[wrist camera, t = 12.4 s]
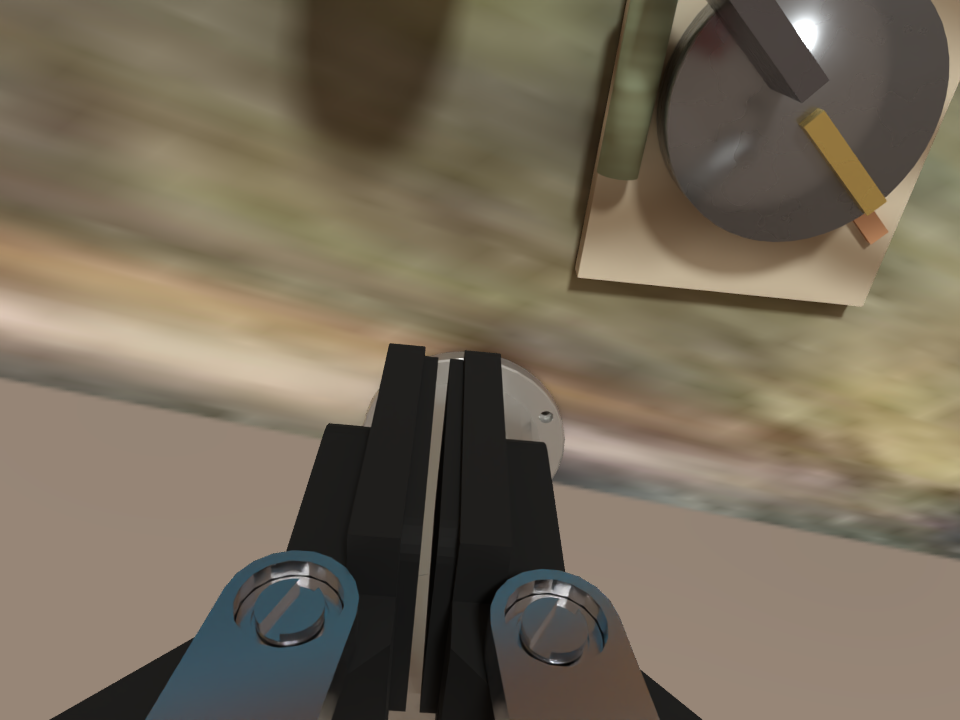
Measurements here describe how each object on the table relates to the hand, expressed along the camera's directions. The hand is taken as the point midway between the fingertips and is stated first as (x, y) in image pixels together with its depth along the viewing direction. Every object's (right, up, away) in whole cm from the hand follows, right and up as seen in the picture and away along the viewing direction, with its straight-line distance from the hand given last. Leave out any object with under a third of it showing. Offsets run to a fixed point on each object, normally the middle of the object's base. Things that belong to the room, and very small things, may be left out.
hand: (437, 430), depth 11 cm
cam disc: (+14, +13, +22) cm, 29 cm away
